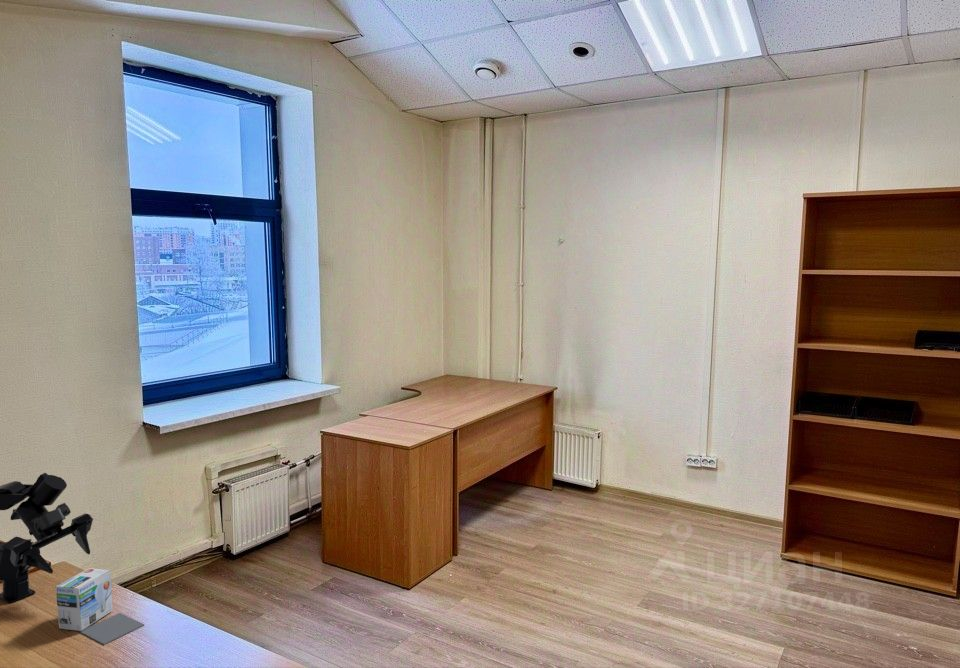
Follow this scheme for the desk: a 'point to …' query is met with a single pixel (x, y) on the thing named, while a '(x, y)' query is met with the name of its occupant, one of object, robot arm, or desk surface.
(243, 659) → the desk surface
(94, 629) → the rubber mat
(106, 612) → the light bulb box
